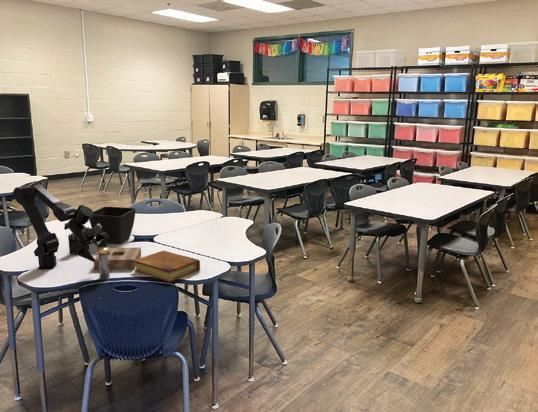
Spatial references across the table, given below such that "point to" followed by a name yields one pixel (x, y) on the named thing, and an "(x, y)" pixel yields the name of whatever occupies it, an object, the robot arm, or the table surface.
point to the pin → (103, 262)
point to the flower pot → (114, 222)
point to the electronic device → (72, 241)
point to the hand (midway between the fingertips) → (101, 257)
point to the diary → (167, 265)
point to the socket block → (121, 258)
